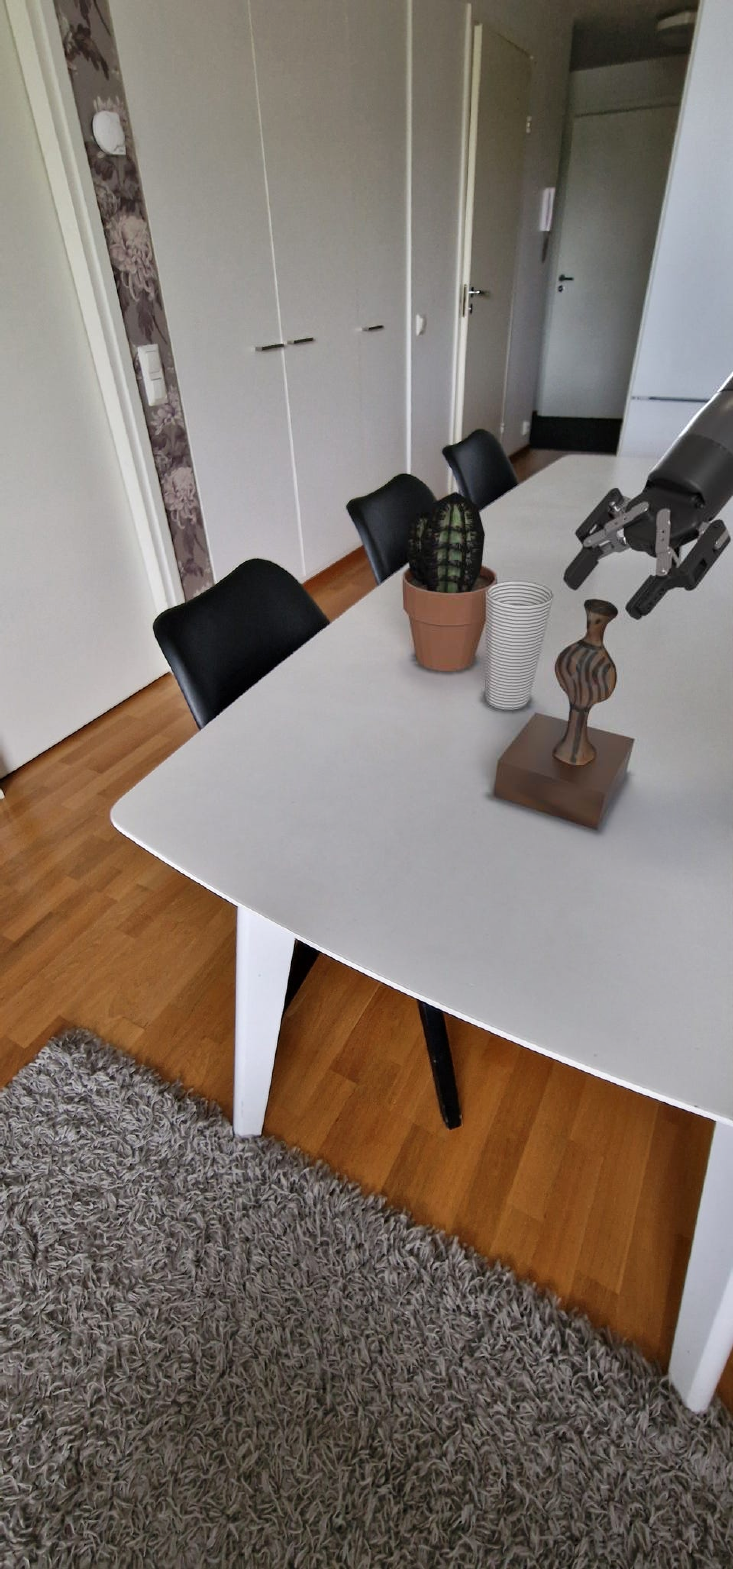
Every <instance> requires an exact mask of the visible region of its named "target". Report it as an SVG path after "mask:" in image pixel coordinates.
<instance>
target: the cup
mask: <svg viewBox="0 0 733 1569" xmlns="http://www.w3.org/2000/svg"><path fill="white" fill-rule="evenodd" d="M554 597H555V596H554V593H553V591H552V590H551V589H549V588H548V587H547V586H546V585H542V584H539V583H536V582H533V581H532V582H531V581H525V580H507V581H500V582H497V583H496V584H494V585H491V586H490V587H489V588H488V589H487V590H486V622H485V679H484V680H485V685H484V686H485V687H484V688H485V692H484V693H485V694H484V695H485V700H486V702H487V703H488V704H489V705H490V706H492V707H495V708H497V709H502V710H517V709H521V708H523V707H525V706H526V705H527V704H528V703H529V701H530V697H531V694H532V688H533V685H534V681H535V676H536V673H537V668H538V663H539V659H540V655H541V651H542V647H543V643H544V638H545V635H546V630H547V626H548V623H549V622H548V621H549V618H550V614H551V609H552V605H553V602H554Z"/></svg>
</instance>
